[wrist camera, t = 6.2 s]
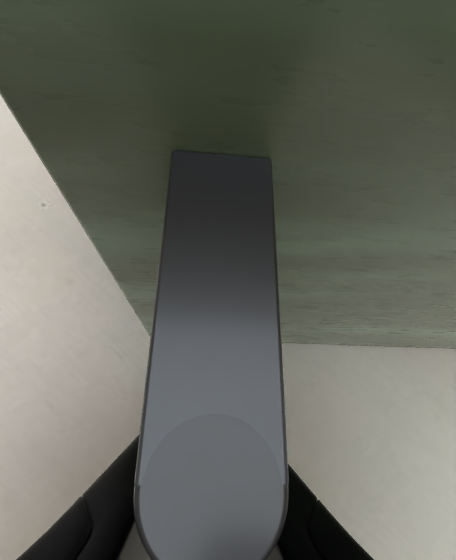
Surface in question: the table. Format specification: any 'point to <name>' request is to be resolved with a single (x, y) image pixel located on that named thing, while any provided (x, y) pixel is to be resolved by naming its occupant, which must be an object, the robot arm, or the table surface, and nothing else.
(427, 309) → the green cabinet door
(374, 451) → the table surface
